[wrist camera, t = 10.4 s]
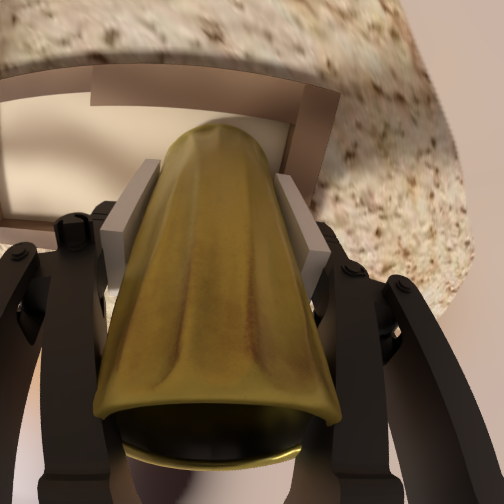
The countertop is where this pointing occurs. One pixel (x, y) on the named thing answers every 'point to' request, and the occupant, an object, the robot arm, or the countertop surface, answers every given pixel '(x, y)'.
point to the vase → (213, 319)
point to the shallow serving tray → (138, 132)
